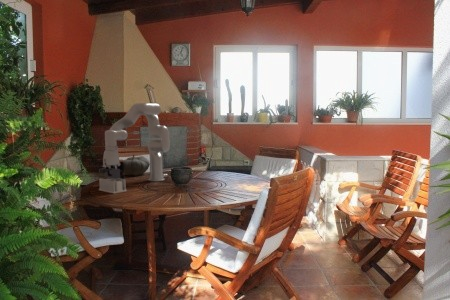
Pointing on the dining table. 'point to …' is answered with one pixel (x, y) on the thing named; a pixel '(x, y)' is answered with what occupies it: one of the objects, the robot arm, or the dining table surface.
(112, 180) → the stand
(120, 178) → the coffee jar
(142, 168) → the gourd
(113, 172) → the grey bracket
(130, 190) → the dining table surface
